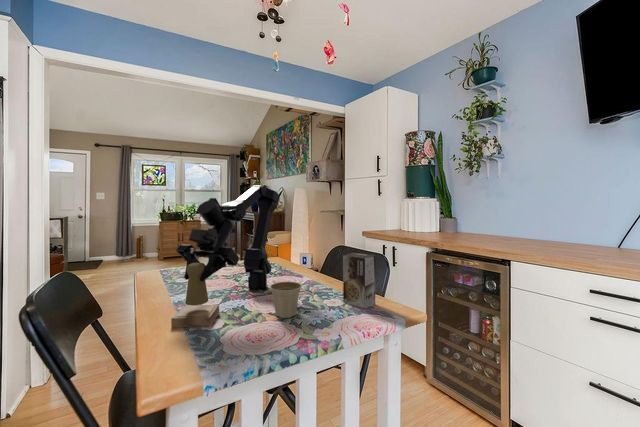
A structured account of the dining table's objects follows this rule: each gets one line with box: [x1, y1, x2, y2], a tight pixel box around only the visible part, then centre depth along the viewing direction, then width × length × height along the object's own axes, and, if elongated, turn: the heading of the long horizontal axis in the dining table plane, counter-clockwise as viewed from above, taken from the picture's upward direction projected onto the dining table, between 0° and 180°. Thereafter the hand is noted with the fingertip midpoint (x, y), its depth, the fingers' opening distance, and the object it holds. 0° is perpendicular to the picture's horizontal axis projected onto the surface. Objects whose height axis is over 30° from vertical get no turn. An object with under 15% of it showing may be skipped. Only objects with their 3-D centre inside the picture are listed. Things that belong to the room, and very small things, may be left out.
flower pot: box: [269, 281, 302, 319], centre depth 90 cm, size 9×9×9 cm
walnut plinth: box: [170, 304, 220, 329], centre depth 85 cm, size 10×10×3 cm
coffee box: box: [342, 252, 376, 309], centre depth 100 cm, size 9×6×16 cm
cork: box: [184, 262, 209, 305], centre depth 85 cm, size 6×6×11 cm
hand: (193, 279), depth 84 cm, fingers closed on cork, 5 cm apart
